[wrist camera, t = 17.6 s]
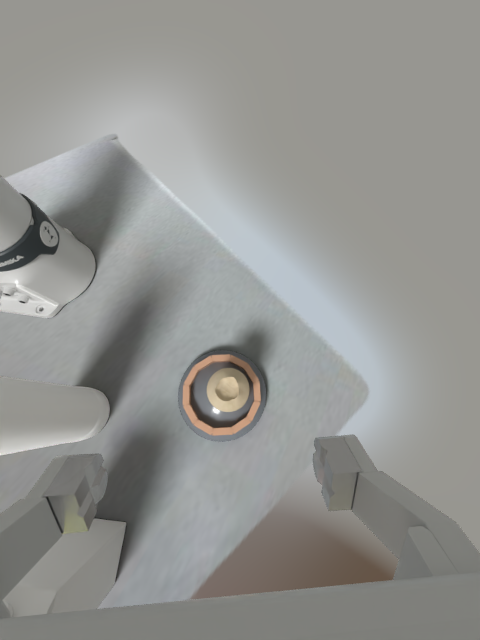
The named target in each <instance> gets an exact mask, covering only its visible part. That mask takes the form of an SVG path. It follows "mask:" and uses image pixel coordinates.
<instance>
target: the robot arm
mask: <svg viewBox="0 0 480 640" xmlns="http://www.w3.org/2000/svg"><path fill="white" fill-rule="evenodd" d="M94 273H95V258H94V255H93V253H92V252H91V250H90V249H89V248H88V247H87V246H86V245H84V244H83V243H81V242H79V241H78V240H77V239H76V238H75V237H74V235H73V234H72V232H70V231H69V230H68V229H66V228H62V227H60V226H59V225H58V224H57V223H56V222H54V221H53V220H52V219H51V218H49V217H48V216H47V215H46V214H45V213H44V212H43V211H42V210H41V209H40V208H39V207H38V206H37V205H36V204H35V203H34V202H33V201H31V200H30V199H29V198H28V197H26V196H25V195H23V194H21V193H19V192H18V191H17V190H16V189H14V188H13V187H12V186H11V185H10V184H9V183H8V182H7V181H6V180H5V179H4V178H3V177H2V176H1V175H0V311H1V312H8V313H15V314H22V315H29V316H36V317H42V318H52V317H54V316H55V315H56V314H57V313H58V312H59V311H60V310H61V308H62V307H63V306H64V305H65V304H67V303H68V302H70V301H72V300H73V299H75V298H76V297H78V296H79V295H80V294H81V293H82V292H83V291H84V290H85V289H86V288H87V287H88V285H89V284H90V282H91V280H92V278H93V276H94ZM43 309H44V310H43ZM42 310H43V311H42ZM314 447H315V449H316V451H315V453H314V454H313V467H314V472H315V475H316V478H317V481H318V482H319V483H320V484H321V485H322V495H323V498H324V500H325V503H326V506H327V509H328V511H337V510H352V512H353V513H354V514H355V515H356V516H357V517H358V518H359V519H360V520H361V521H362V522H363V523H364V524H365V525H366V526H367V527H368V528H369V529H370V530H371V531H372V532H373V533H374V534H375V535H376V536H377V537H378V539H379V540H380V541H382V543H383V544H384V545H385V546H386V547H387V548H388V549H389V550H390V551H391V552H392V553H393V554H394V555H395V556H396V557H397V558H398V559H399V561H398V565H397V568H396V571H395V575H394V578H393V580H390V581H381V582H371V583H360V584H350V585H339V586H329V587H319V588H309V589H298V590H288V591H278V592H267V593H257V594H247V595H236V596H226V597H216V598H206V599H195V600H185V601H174V602H164V603H154V604H144V605H134V606H123V607H113V608H103V609H93V610H83V611H72V612H62V613H52V614H42V615H31V616H21V617H11V616H10V611H9V610H8V608H7V607H6V605H5V604H4V602H3V601H2V600H3V599H4V598H5V597H6V596H7V595H8V594H9V593H10V591H11V590H12V589H13V588H14V587H15V586H16V585H17V584H18V583H19V582H20V581H21V580H22V579H23V578H24V576H25V575H26V574H27V573H28V572H29V571H30V570H31V569H32V568H33V567H34V566H35V565H36V564H37V562H38V561H39V560H40V559H41V558H42V557H43V556H44V555H45V554H46V553H47V552H48V551H49V550H50V549H51V547H52V546H53V545H54V544H55V543H56V542H57V541H58V540H59V539H60V538H61V537H62V534H69V533H77V532H86V531H89V528H90V526H91V524H92V522H93V519H94V517H95V515H96V512H97V508H96V504H97V503H98V502H99V501H100V500H101V499H102V498H103V496H104V494H105V491H106V487H107V482H108V474H107V471H106V469H105V468H104V467H102V466H101V465H102V463H103V461H104V460H103V458H102V455H101V454H79V455H62V456H57V457H55V458H54V459H53V460H52V461H51V463H50V464H49V466H48V467H47V468H46V470H45V471H44V473H43V474H42V475H41V477H40V478H39V480H38V481H37V483H36V484H35V485H34V487H33V488H32V490H31V491H30V492H29V494H28V495H27V497H26V498H25V499H20V500H19V501H17V502H16V503H15V504H13V505H12V506H10V507H9V508H8V509H6V510H5V511H4V512H2V513H1V514H0V640H480V553H479V552H478V550H477V549H476V548H475V546H474V545H473V544H472V543H471V541H470V540H469V539H468V537H467V536H466V535H465V533H464V532H463V531H462V529H461V528H460V527H459V526H458V524H457V523H456V522H455V521H454V520H452V519H451V518H449V517H448V516H446V515H445V514H443V513H442V512H441V511H439V510H438V509H436V508H435V507H433V506H432V505H430V504H429V503H428V502H426V501H425V500H423V499H422V498H420V497H419V496H417V495H416V494H414V493H413V492H412V491H410V490H409V489H407V488H406V487H404V486H403V485H401V484H400V483H398V482H397V481H396V480H394V479H393V478H391V477H390V476H388V475H387V474H386V473H384V472H382V471H377V469H376V467H375V466H374V464H373V463H372V461H371V459H370V458H369V456H368V455H367V453H366V451H365V450H364V448H363V447H362V445H361V443H360V442H359V440H358V439H357V437H356V436H355V435H343V436H330V437H318V438H315V440H314Z"/></svg>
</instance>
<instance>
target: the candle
mask: <svg viewBox="0 0 480 640" xmlns="http://www.w3.org/2000/svg"><path fill="white" fill-rule="evenodd" d="M207 396H208V399H209V401H210V403H211V404H212V405H213V406H214V407H215V408H216V409H218V410H220V411H223V412H232V411H236V410H239V409H240V408H242V407H243V406H244V404H245V403H246V401H247V399H248V396H249V383H248V380H247V378H246V377H245V376H244V374H243V373H241V372H240V371H239V370H236V369H234V368H223V369H220V370H218V371H217V372H215V373H214V374H213V375H212V376H211V378H210V379H209V381H208V384H207Z"/></svg>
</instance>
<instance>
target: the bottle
mask: <svg viewBox="0 0 480 640" xmlns="http://www.w3.org/2000/svg"><path fill="white" fill-rule="evenodd" d="M109 412H110V405H109V402H108V399H107V397H106V396H105V395H104V393H102V392H101V391H99V390H97V389H93V388H90V387H81V386H70V385H62V384H55V383H48V382H40V381H33V380H26V379H18V378H11V377H4V376H0V455H5V454H10V453H15V452H20V451H26V450H31V449H36V448H41V447H47V446H52V445H57V444H63V443H68V442H70V443H71V442H77V441H81V440H85V439H87V438H91V437H93V436H94V435H96V434H97V433H99V432H100V431H101V430H102V428H103V427H104V426H105V425H106V422H107V420H108V418H109Z"/></svg>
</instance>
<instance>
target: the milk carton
mask: <svg viewBox="0 0 480 640" xmlns="http://www.w3.org/2000/svg"><path fill="white" fill-rule="evenodd" d="M125 528H126V522H120V521H112V520H104V519H95V518H94V519H93V522H92V524H91V526H90V528H89V531H86V532H77V533H69V534H62V537H61V538H60V539H59V540H58V541H57V542H56V543H55V544H54V545H53V546H52V547H51V549H50V550H49V551H48V552H47V553H46V554H45V555H44V556H43V557H42V558H41V559H40V560H39V561H38V562H37V564H36V565H35V566H34V567H33V568H32V569H31V570H30V571H29V572H28V573H27V574H26V575H25V576H24V578H23V579H22V580H21V581H20V582H19V583H18V584H17V585H16V586H15V587H14V588H13V589H12V590H11V591H10V593H9V594H8V595H7V596H6V597H5V598H4V599H3V600H2V601H3V602H4V604H5V605H6V607H7V608H8V610H9V611H10V616H11V617H21V616H31V615H42V614H52V613H62V612H72V611H83V610H93V609H97V608H98V607H99V605H100V604H101V603H102V601H103V600H104V599H105V597H106V596H107V595H108V593H109V592H110V590H111V589H112V588H113V586H114V584H115V579H116V574H117V569H118V564H119V559H120V554H121V549H122V544H123V539H124V534H125Z"/></svg>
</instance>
